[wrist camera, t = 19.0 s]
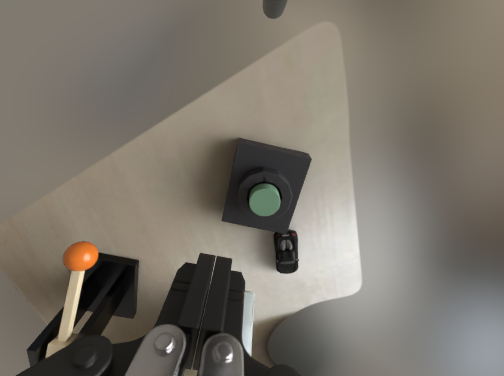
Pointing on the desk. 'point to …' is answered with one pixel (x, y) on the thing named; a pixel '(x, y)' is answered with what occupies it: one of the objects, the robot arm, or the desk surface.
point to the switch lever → (73, 291)
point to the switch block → (265, 171)
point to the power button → (264, 199)
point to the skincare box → (248, 320)
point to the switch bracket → (96, 301)
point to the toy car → (286, 251)
